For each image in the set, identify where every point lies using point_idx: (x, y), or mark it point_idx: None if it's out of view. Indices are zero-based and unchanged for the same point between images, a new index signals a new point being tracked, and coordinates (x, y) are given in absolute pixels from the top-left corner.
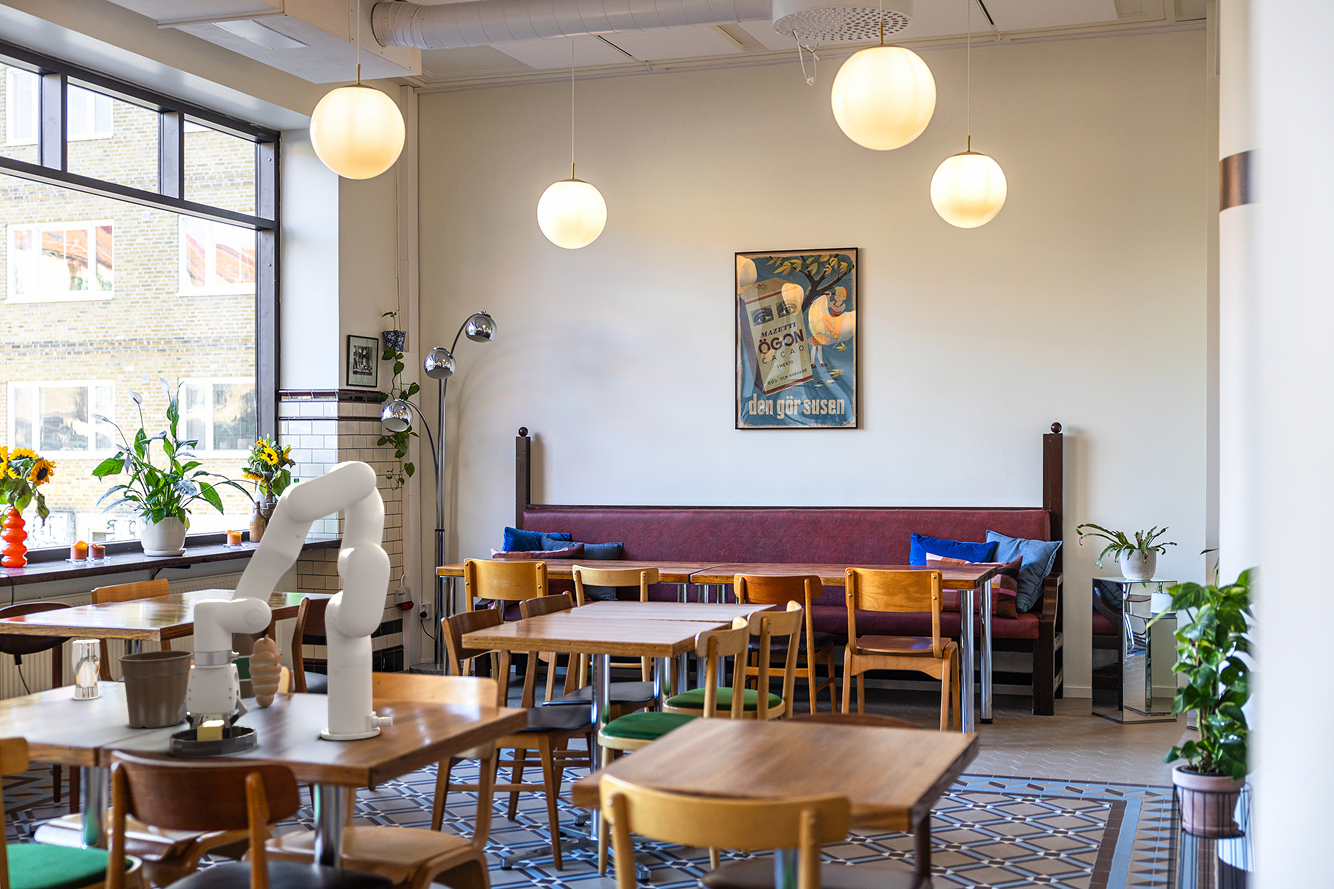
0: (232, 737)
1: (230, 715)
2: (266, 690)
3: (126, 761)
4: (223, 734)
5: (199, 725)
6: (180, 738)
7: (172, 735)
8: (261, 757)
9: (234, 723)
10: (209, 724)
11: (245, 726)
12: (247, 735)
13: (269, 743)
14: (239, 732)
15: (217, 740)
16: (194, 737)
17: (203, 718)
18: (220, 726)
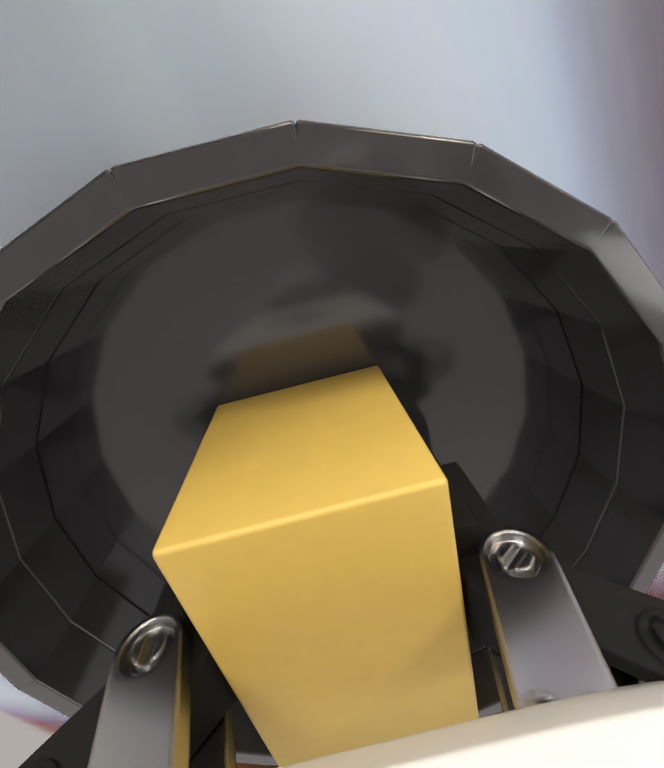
0: (319, 188)
1: (583, 678)
2: None
3: (43, 727)
4: None
5: (226, 704)
6: (4, 523)
7: (36, 678)
8: (661, 572)
9: (561, 564)
10: (335, 696)
11: (532, 196)
12: (651, 580)
13: (652, 205)
14: (414, 191)
15: (490, 715)
16: (17, 377)
17: (178, 713)
18: (474, 697)
